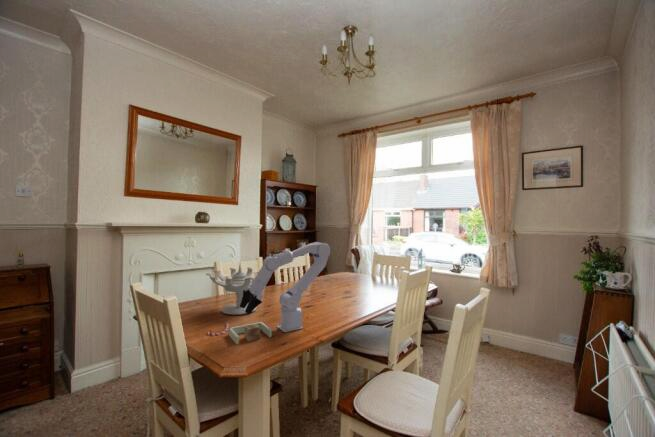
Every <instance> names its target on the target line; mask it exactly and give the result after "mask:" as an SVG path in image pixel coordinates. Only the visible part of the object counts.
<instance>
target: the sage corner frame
mask: <svg viewBox="0 0 655 437" xmlns="http://www.w3.org/2000/svg"><path fill="white" fill-rule="evenodd" d="M251 324H257V325H258V326H259V327H260V331H261V332H263V333H264V334H265V335H266V336H268V338H272V335H273V334H272V329H271V328H270V327H269V326H268V325H266V324H265V323H264V322H263V321H259V322H254V323H249V324H248V323H247V324H243V325H237V326H232V327H229V328H228V336H229V337H230V339H231V340H232V341H233V342H234V344H235V345H239V344H240V334H244V331H245V326H246V325H251Z"/></svg>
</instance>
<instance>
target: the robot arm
mask: <svg viewBox="0 0 655 437" xmlns="http://www.w3.org/2000/svg"><path fill="white" fill-rule="evenodd" d="M307 254H312V256H313V263H312V264H311V265H310V267H309V268H308V269H307V271H305V273H304V274H303V275H302V276H301V277H300V278H299V280H297V282H296V283H295V284H294V285H293V287H290V288H288V289H287V290H286V291H285V292H283V293H282V294H281V295H280V296H279V303H280V305H281V307H280V325H276V328H278V329H279V330H280V331H282V332H284V333H288V332H292V331H297V330H301V329H303V328H304V327H303V311H302V309H301V308H300V307H299V304H300V302H301V300H302V296H303V294H304V292H306V290H307V289H308V288H309V286H310V285H311V284H312V283H313V282H314V280H315V279H316V278H317V277H318V275H320V273H321V272H322V271H323V270H324V269H325V267H326V266H327V262H328V259H329V256H330V255H331V247H330V245H329V244H328V243H326V242H319V241H314V242H311V243H308V244H306V245H303V246H302V247H299V248H297V249H295V250H292V251H290V250H289V249H288V250H286V249H283V250H282V252H279V253H276V254H275V253H273V255H272V256H266V257H265V259H263V260H262V266H261V267H260V269H259V271H258V273H257V274H256V276H255V277H254V278H255V279H254V281H253V283H252V285H251V286H248V287H247V289H246V290H247V291H245V290H243V296H242V300H241V303H240V307H242V308H245V307H246V305H247V304H248V305H247V308H246V310H245V312H246V313H247V315H250V314H251V313H253V312H254V311H253V310H254V309H255V308H256V307H257V308H258V306H259V305H260V304H262V303H263V301H262V300H263V297H264V295H263V294H262V293H263V292H264V289H266V286H267V285H268V282H269V281H270V279H271V277H272V275H273V273H274V272H275V271H277V270H278V269H279V267H280V268H281V267H283V266H285V265H288V264H290V263H293V261H294V259H295V258H299V257H302V256H305V255H307ZM252 311H253V312H252Z"/></svg>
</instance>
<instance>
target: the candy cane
mask: <svg viewBox="0 0 655 437" xmlns="http://www.w3.org/2000/svg"><path fill="white" fill-rule="evenodd" d="M229 328H230V327H229V322H225V329H223V330H222V331H221V332H215V333H212V330H211V329H210V330H208V331H207V332H206V335H207V336H209V337H217V336H221V335H224V334H226V333H227V332H229Z"/></svg>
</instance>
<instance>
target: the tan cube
mask: <svg viewBox="0 0 655 437" xmlns="http://www.w3.org/2000/svg"><path fill="white" fill-rule="evenodd" d="M250 324H251V325H247V324H245V325H246V326H245V331H244V333H243V335H244V339H245V340H246V341H248V342H252V341H257V340H260V339H261V330H260V327H259V326H258V325H257V324H253V323H250Z"/></svg>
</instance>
